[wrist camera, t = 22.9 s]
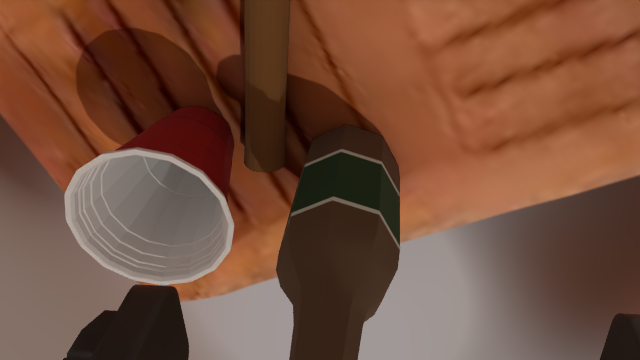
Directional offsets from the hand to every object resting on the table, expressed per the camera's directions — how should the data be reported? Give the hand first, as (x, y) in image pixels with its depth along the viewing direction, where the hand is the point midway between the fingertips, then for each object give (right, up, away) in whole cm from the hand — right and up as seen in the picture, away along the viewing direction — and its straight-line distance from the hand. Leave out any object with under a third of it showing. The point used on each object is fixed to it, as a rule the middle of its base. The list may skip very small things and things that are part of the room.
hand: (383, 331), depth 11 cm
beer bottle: (+1, +4, +35) cm, 36 cm away
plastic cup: (-11, +6, +36) cm, 38 cm away
